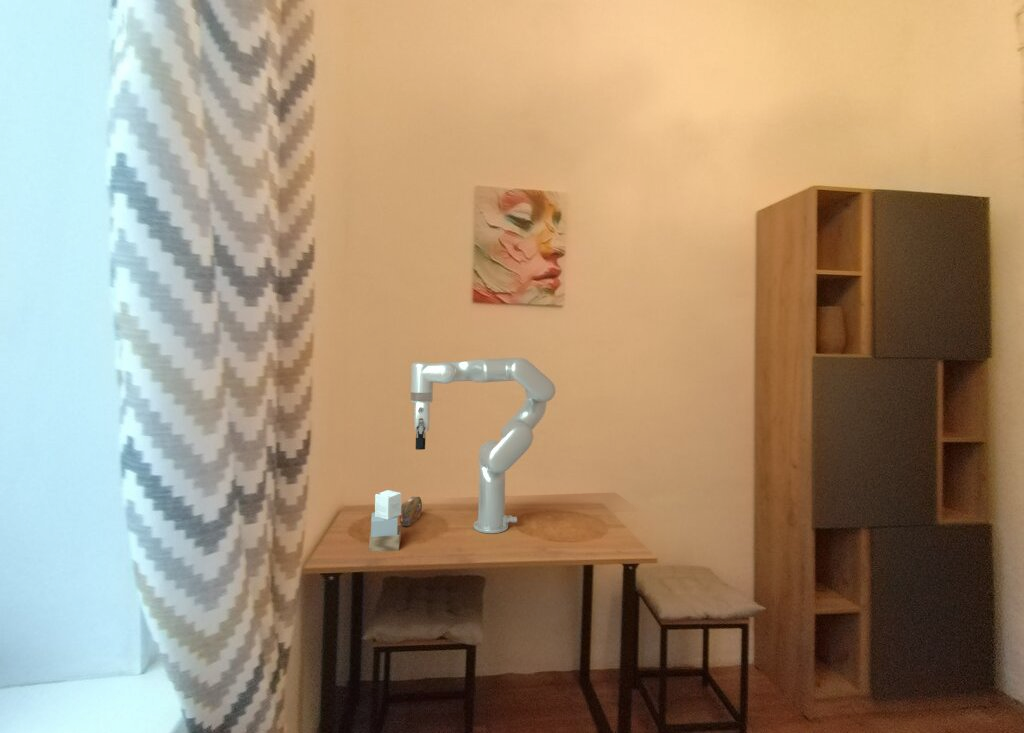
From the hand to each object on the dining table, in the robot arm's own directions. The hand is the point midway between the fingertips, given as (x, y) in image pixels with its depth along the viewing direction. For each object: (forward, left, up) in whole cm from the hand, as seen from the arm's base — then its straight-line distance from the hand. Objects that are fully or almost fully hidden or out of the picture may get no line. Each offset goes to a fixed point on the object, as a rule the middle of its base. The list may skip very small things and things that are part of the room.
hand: (420, 446), depth 155 cm
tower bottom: (+10, +9, -31) cm, 34 cm away
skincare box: (+10, +9, -21) cm, 25 cm away
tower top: (+11, +9, -26) cm, 29 cm away
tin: (+3, -11, -31) cm, 33 cm away
